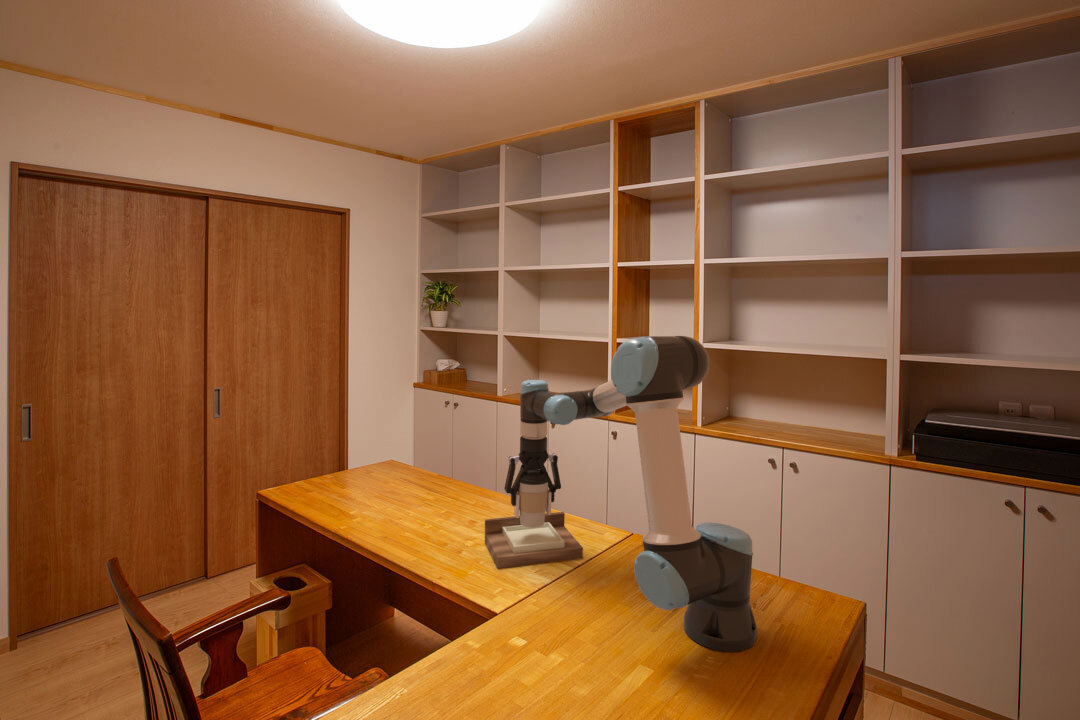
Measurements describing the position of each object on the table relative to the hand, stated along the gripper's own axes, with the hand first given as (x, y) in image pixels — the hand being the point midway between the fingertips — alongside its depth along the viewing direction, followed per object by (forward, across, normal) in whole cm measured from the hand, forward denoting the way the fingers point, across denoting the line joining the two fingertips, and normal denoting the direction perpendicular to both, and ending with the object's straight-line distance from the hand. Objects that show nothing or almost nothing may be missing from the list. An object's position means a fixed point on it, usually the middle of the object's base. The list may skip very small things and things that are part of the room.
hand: (532, 514), depth 168 cm
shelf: (+10, 0, 0) cm, 10 cm away
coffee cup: (+3, 0, 0) cm, 3 cm away
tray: (+7, 0, 0) cm, 7 cm away
